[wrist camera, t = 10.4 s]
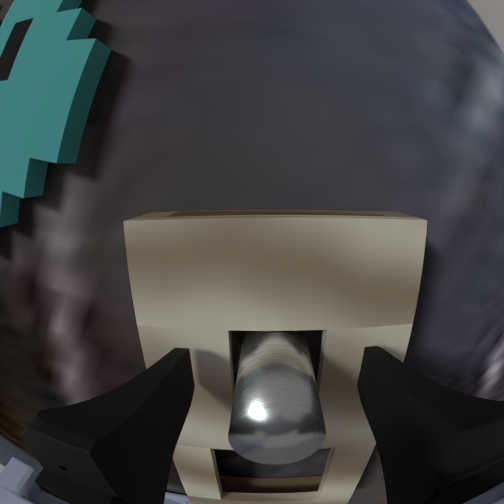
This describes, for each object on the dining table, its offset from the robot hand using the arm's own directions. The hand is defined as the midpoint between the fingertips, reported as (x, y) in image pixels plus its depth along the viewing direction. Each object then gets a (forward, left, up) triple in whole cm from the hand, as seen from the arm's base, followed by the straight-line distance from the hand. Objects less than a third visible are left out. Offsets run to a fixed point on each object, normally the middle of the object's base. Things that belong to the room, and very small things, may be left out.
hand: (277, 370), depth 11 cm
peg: (0, 0, -4) cm, 4 cm away
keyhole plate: (-5, 0, -4) cm, 6 cm away
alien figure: (+15, +19, -4) cm, 25 cm away
